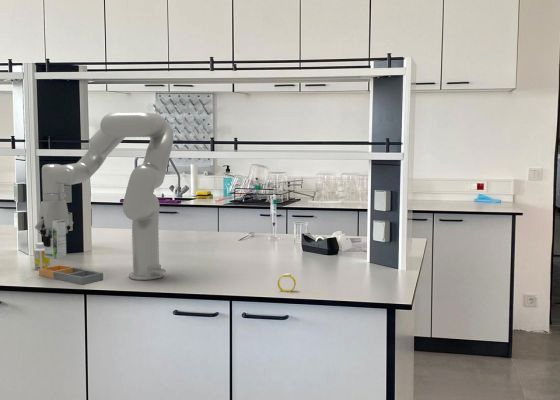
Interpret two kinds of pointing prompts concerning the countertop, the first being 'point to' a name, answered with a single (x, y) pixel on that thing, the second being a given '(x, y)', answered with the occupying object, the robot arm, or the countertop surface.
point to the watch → (286, 276)
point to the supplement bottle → (40, 257)
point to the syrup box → (57, 240)
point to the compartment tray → (71, 274)
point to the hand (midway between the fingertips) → (55, 244)
